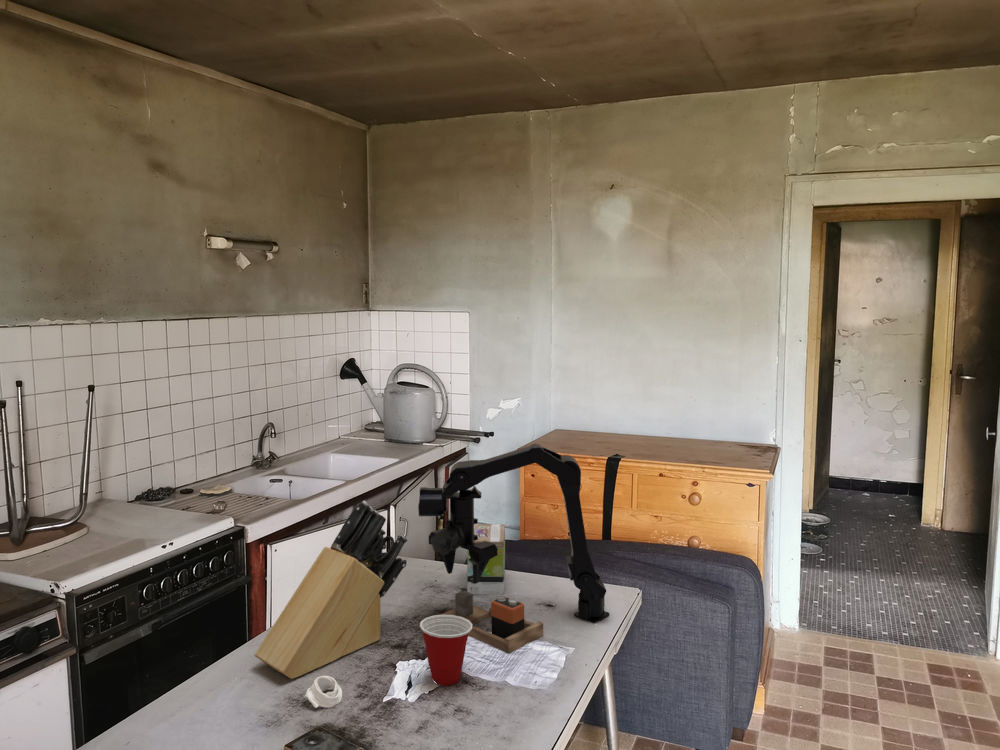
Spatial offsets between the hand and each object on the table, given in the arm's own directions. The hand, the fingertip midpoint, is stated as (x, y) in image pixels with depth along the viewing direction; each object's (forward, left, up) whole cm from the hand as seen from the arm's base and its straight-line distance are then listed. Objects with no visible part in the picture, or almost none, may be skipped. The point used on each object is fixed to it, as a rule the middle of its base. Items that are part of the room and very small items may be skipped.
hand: (462, 578), depth 183 cm
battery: (+1, +16, -10) cm, 19 cm away
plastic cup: (+22, +18, -10) cm, 30 cm away
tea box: (-19, -11, -11) cm, 24 cm away
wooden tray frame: (0, +8, -10) cm, 13 cm away
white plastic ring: (+44, +6, -11) cm, 45 cm away
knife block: (+29, -10, -10) cm, 33 cm away
